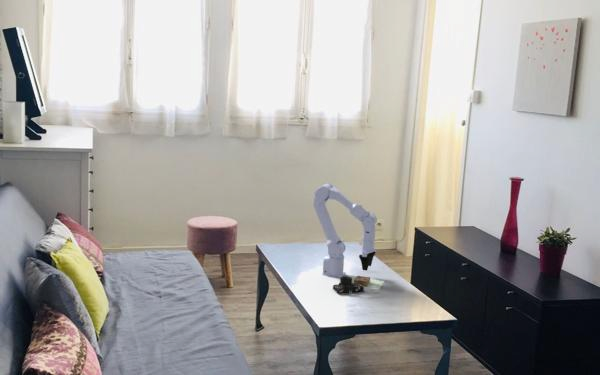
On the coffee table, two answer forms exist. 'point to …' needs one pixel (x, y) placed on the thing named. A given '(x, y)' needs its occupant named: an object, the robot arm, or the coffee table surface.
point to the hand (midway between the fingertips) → (366, 268)
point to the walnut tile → (362, 280)
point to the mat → (371, 283)
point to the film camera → (347, 286)
